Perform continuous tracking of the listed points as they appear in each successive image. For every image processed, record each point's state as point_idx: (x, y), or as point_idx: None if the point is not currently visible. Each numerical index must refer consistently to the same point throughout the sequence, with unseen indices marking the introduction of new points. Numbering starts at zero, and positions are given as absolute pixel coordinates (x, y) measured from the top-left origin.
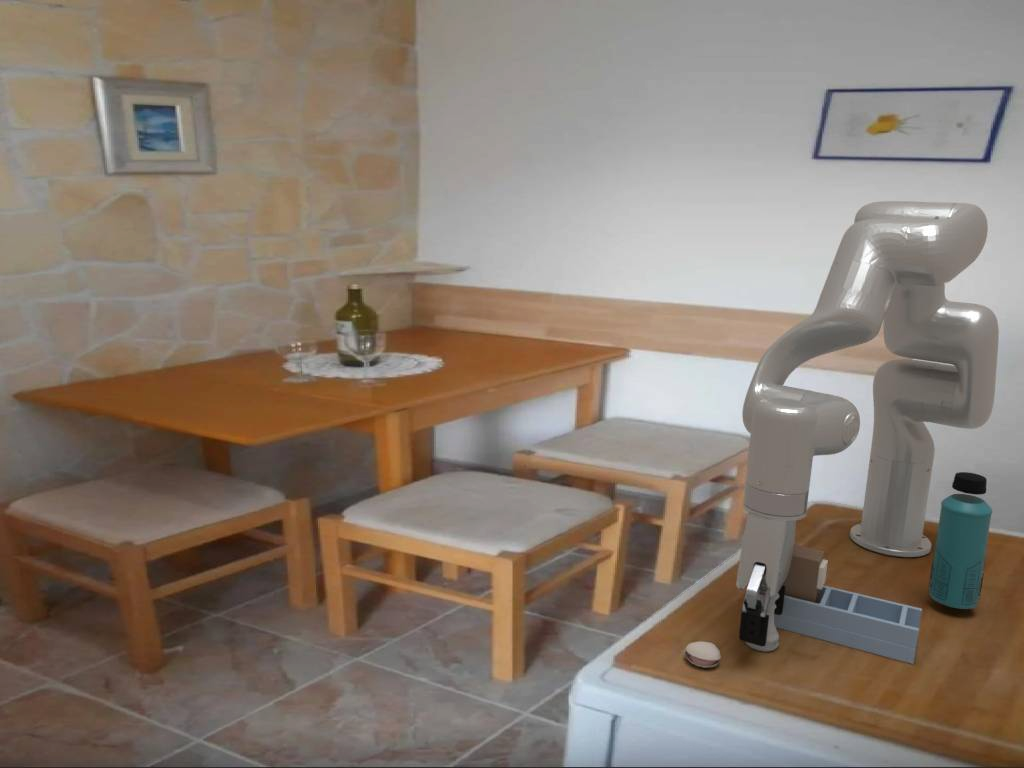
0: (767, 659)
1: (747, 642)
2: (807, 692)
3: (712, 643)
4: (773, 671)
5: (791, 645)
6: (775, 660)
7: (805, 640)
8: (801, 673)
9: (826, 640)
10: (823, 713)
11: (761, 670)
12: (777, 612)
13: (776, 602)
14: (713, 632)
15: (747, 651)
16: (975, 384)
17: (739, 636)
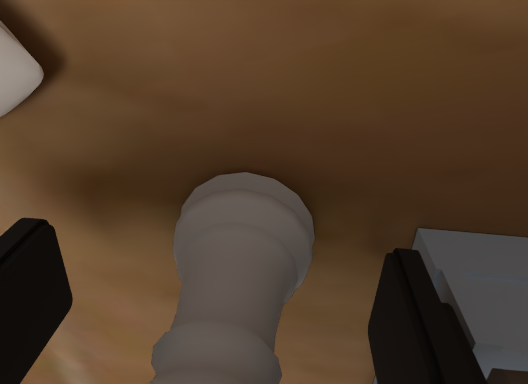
0: (156, 253)
1: (196, 194)
2: (60, 345)
3: (21, 79)
4: (98, 273)
5: (294, 305)
6: (166, 273)
7: (351, 336)
8: (142, 332)
9: (375, 380)
10: None
11: (76, 244)
12: (372, 328)
13: (381, 364)
14: (239, 31)
15: (165, 191)
16: None
17: (17, 223)
